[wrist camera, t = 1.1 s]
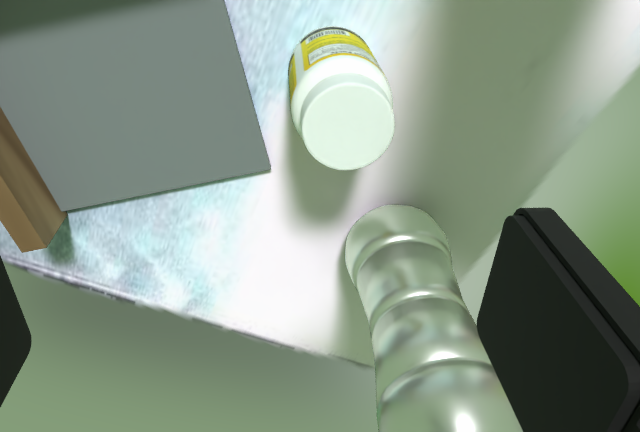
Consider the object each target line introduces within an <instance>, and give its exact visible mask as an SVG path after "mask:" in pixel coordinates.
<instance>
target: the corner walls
mask: <svg viewBox="0 0 640 432" xmlns="http://www.w3.org/2000/svg"><path fill="white" fill-rule="evenodd" d="M67 215H68V214H67V213H66V211H63V212H62V211H61V210H60V208H59V206H58V205H57V203H56V201H55V199H54V198H53V196H52V194H51V193H50V191H49V189H48V187H47V186H46V184H45V182H44V181H43V179H42V177H41V175H40V174H39V172H38V170H37V169H36V167H35V165H34V164H33V162H32V160H31V158H30V157H29V155H28V153H27V152H26V150H25V148H24V146H23V145H22V143H21V141H20V140H19V138H18V136H17V134H16V133H15V131H14V129H13V128H12V126H11V124H10V122H9V121H8V119H7V117H6V116H5V114H4V112H3V110H2V109H1V107H0V221H1V222H2V224H3V225H4V227H5V228H6V230H7V231H8V233H9V234H10V236H11V237H12V239H13V240H14V241H15V243H16V244H17V246H18V247H19V249H20V250H21V252H22V253H23V252H28V251H33V250H38V249H43V248H47V246H48V245H49V243H50V241H51V240H52V238H53V237H54V235H55V234H56V232H57V230H58V229H59V227H60V226H61V224H62V223H63V221H64V220H65V218H66V216H67Z"/></svg>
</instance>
